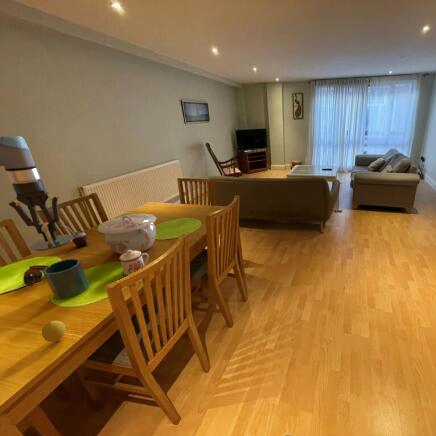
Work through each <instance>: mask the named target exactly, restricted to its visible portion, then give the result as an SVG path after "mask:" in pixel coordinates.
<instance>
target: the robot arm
mask: <svg viewBox="0 0 436 436" xmlns="http://www.w3.org/2000/svg"><path fill="white" fill-rule="evenodd" d="M0 167H3V168H4V170H5V172H6V175H7V177H8V179H9V182H11V183H12V184H11V185H12V187H13V190H14V192H15V194H16V197H15V199H13V200H12V201H10V202H9V203H8V205H9V206H10V207H11V208H13V209H14V210H15V211H16V213H17V214H18V216H19V217H20V219H22V221H23V222H24V224H25V225H26V226H27V227H34V228H35V230H36V232H37V234H38V235H42V237H43V239H45V241H46V242H48V239H47V237H46V235H45V233H44V231H43V232H42V230H41V227H42V226H43V224H44V223H42V222H41V221H40V217H39V214H38V211H37V208H36V207H39V208H40V210H41V211H42V213H43V215H44V217H45V219H46V220H47V222H49V223H48V225H47V226H48V229H49V230H48V232H49V231H50V233H51V235H50V237H51V236H52V238H53V240H56V239H57V233H56V232H57V231H58V226H57V223H58V222H59V221H60V219H61V216H60V210H59V204H58V201H59V198H60V196H59V195H52V194H50V193H49V192H47V190H46V188H45V184H44V183H43V181H42V179H41V176H40V173H39V170H38V168H37V166H36V163H35V160H34V158H33V155H32V153H31V150H30V148H29V146H28V144H27V142H26V140H25V138H24V137H22V136H20V135H0ZM48 199H49V201H50V202H51V208H52V213H53V214H52V213H51V211H50V210H49V207H48V205H47V201H48ZM21 204H22V205H23V204H24V206H26V207H27V209H28V212H29V214H30V216H29V214H28V213H27V212H26V210H25V208H23V206H22V205H21ZM50 233H49V234H50Z"/></svg>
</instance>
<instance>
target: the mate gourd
mask: <svg viewBox="0 0 436 436" xmlns="http://www.w3.org/2000/svg"><path fill="white" fill-rule="evenodd" d="M60 227H64V228H66V230H68V231H69V232H70V233H71V235H72V236H73V237H74V239H73V241H71V242H72V243H73V244H74V245H75V246H76V249H79V248H81V247H88V242H87V241H88V235H87V234H86V232H84V231H76V232H74V231H73V230H72V229H70V227H69V226H66V225H63V224H61V225H60Z"/></svg>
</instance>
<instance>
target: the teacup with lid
mask: <svg viewBox="0 0 436 436" xmlns="http://www.w3.org/2000/svg"><path fill="white" fill-rule="evenodd" d="M143 256H146V257H145V259H143ZM149 257H150V256H149V254H148V253H146V252H140V251H132V250H128V251H127V252H126V253H124V254H123V255H122V254H120V256H119V261H120V264H121V267H122V270H123V272H124V275H125V276H127V275H129V274H131V273H133V272H136V271H138V270H139V269H141V268H143V267H144V266H145V263H147V262H148V261H149Z"/></svg>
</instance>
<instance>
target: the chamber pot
mask: <svg viewBox="0 0 436 436" xmlns="http://www.w3.org/2000/svg"><path fill="white" fill-rule="evenodd" d="M156 221H157V217H156V216H155V215H153V214H149V213H131V214H126V215H121V216H117V217H115V218H111V219H109V220H107V221H105V222H103V223H101V224H100V225H99V226H98V227H97V231H98V233H102V234H103V235H104V236H103V239H104V241H105V243H106V245H107V246H108V247H109V249H110V250H111V251H114V252H115V253H116V254H118V255H123V254H124V253H126V252H127V251H128V250H132V251H140V252H141V253H144V252H146V251H148V249H150V248H151V247H152V246H153V245H154V243H155V240H156V238H157V228H156V225H155V224H154V223H155V222H156Z"/></svg>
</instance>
